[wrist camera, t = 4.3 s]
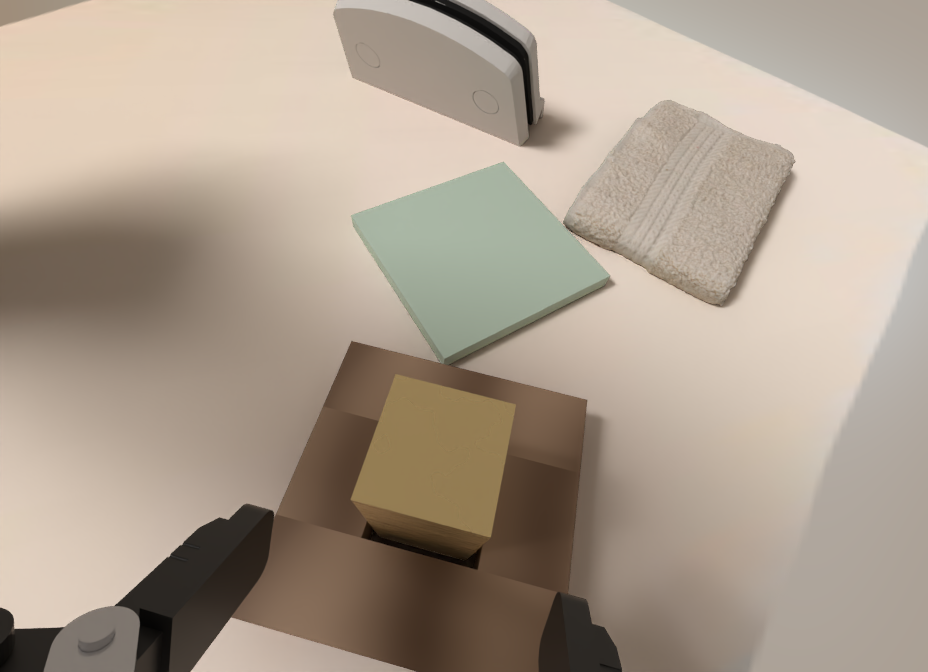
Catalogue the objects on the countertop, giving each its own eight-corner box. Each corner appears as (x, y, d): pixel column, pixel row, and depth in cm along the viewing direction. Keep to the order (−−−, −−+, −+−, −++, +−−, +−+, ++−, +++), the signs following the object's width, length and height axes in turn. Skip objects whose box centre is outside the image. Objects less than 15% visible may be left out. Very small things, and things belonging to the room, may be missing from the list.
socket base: (254, 614, 18) (231, 617, 16) (358, 363, 24) (351, 341, 22) (540, 697, 17) (555, 712, 15) (572, 418, 24) (587, 400, 21)
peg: (379, 537, 20) (350, 499, 12) (406, 452, 22) (395, 373, 14) (465, 560, 20) (490, 537, 12) (484, 472, 22) (516, 404, 14)
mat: (353, 226, 29) (351, 215, 28) (501, 172, 33) (503, 161, 32) (443, 367, 24) (444, 358, 24) (604, 285, 28) (610, 275, 27)
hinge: (547, 116, 37) (561, 2, 28) (521, 160, 37) (527, 60, 27) (383, 51, 41) (344, -71, 31) (356, 91, 40) (307, -21, 30)
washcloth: (780, 174, 36) (808, 141, 34) (716, 320, 28) (746, 292, 26) (648, 117, 39) (664, 82, 37) (554, 235, 31) (567, 201, 28)
